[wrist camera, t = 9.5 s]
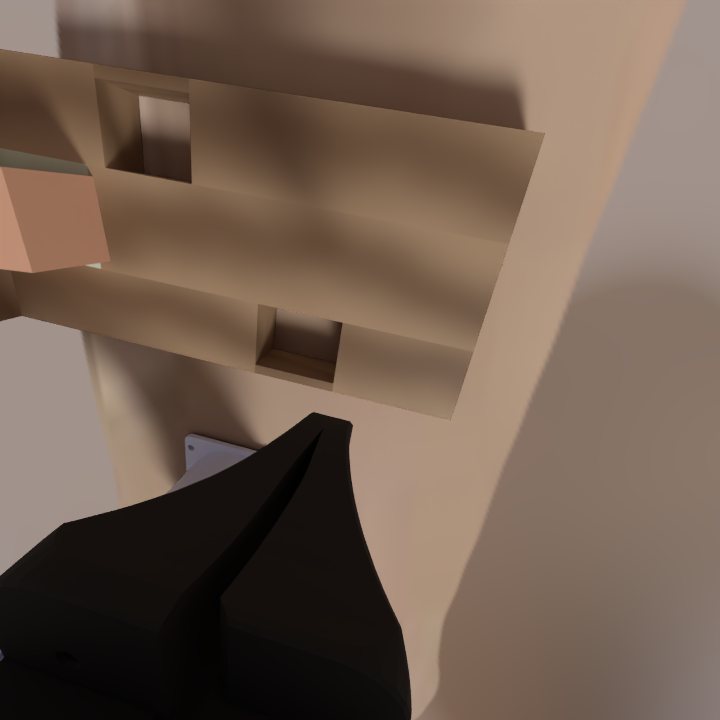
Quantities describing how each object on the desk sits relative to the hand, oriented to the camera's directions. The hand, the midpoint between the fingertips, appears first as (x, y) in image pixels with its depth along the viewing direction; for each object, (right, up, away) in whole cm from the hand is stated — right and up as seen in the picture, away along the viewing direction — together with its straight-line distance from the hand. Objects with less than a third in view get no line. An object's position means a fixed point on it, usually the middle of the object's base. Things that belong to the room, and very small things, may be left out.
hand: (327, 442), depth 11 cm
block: (-14, +10, +7) cm, 18 cm away
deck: (-5, +9, +8) cm, 13 cm away
